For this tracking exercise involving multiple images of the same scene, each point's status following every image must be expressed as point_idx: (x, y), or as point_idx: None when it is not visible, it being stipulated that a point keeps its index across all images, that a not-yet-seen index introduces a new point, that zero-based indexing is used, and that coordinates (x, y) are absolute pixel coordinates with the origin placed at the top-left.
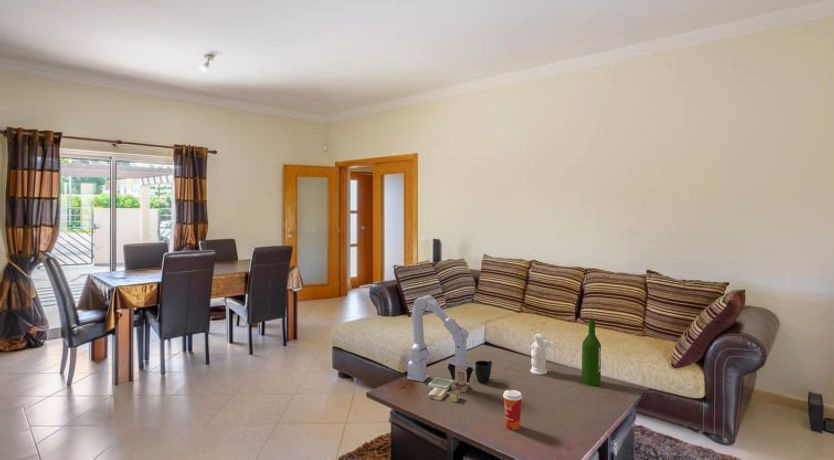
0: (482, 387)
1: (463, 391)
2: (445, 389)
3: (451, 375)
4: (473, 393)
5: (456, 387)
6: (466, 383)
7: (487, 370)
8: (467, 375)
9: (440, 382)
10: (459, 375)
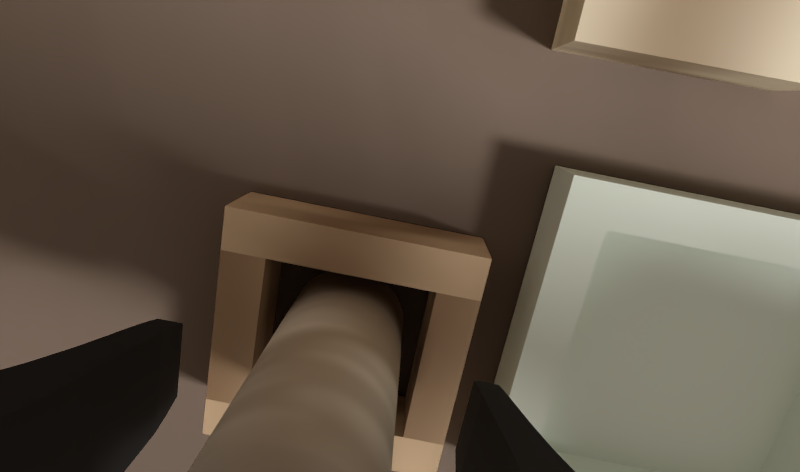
0: None
1: (274, 197)
2: (594, 42)
3: (539, 441)
4: (114, 182)
5: (394, 234)
6: None
7: None
8: (29, 388)
9: (693, 431)
10: (303, 412)
